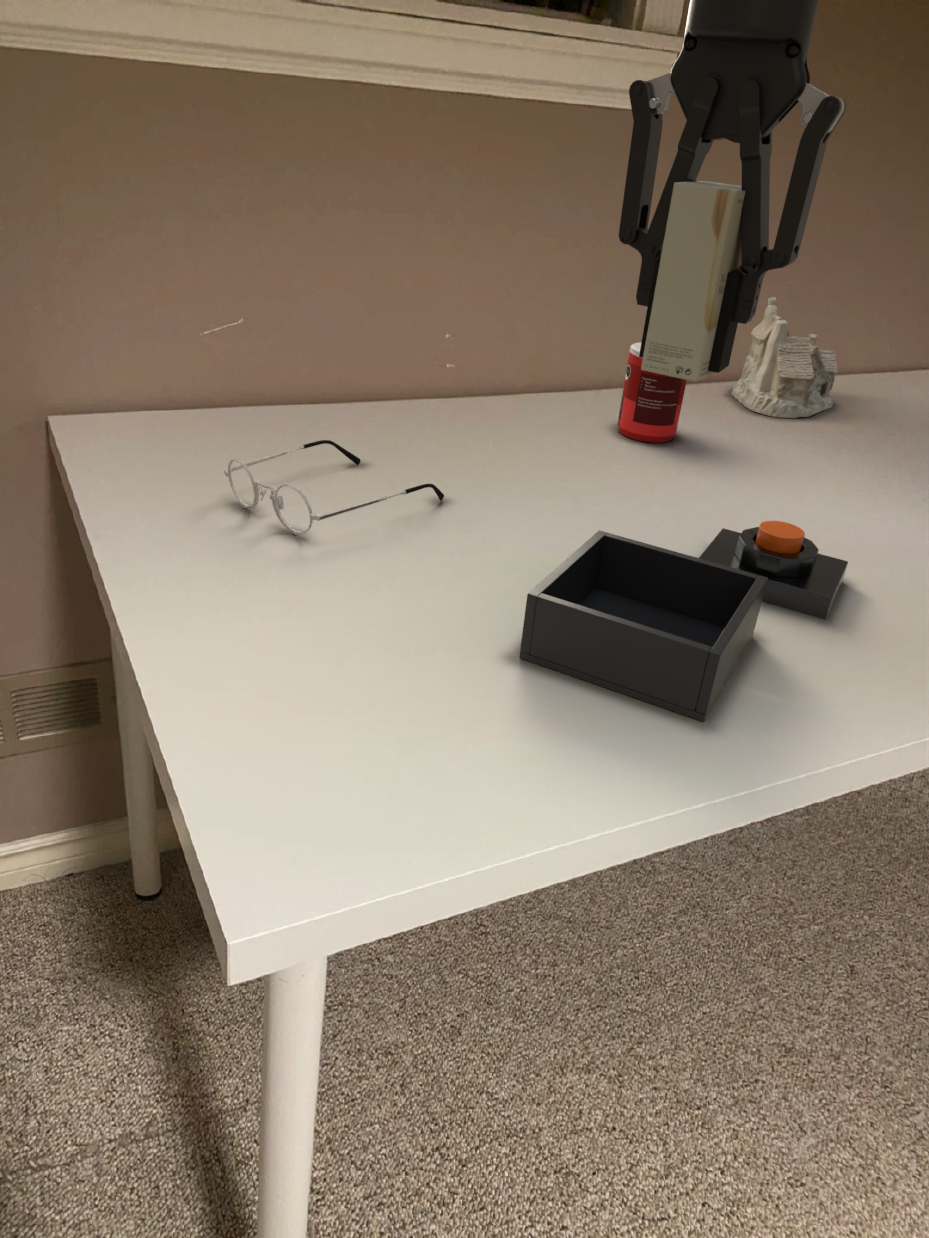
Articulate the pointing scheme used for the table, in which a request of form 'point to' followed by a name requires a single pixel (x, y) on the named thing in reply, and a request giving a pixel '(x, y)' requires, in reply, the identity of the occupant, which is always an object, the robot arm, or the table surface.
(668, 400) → the canned food
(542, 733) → the table surface
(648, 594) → the bin
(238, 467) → the eyeglasses
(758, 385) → the ceramic cottage
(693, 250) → the cosmetic box
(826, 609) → the control block
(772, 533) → the button
